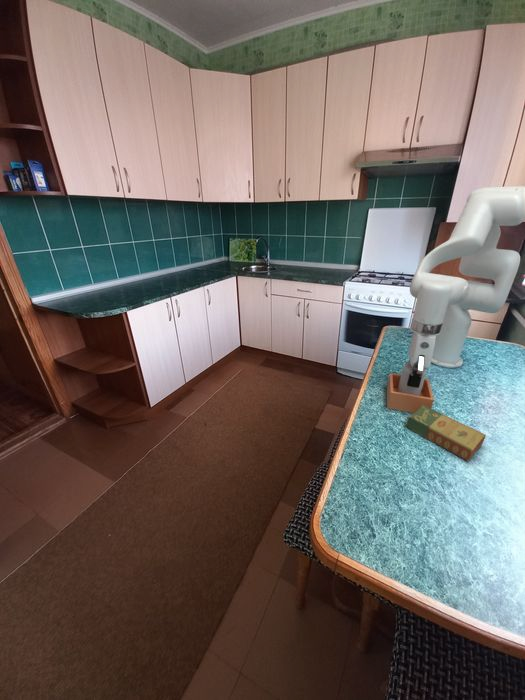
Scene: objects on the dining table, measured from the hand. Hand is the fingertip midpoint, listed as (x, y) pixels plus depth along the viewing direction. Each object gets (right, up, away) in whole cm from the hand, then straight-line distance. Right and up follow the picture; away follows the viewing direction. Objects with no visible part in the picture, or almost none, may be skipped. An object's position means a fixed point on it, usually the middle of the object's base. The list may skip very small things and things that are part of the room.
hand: (411, 379), depth 89 cm
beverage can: (0, -6, +3) cm, 7 cm away
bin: (0, -7, +4) cm, 8 cm away
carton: (+3, -15, -10) cm, 18 cm away
